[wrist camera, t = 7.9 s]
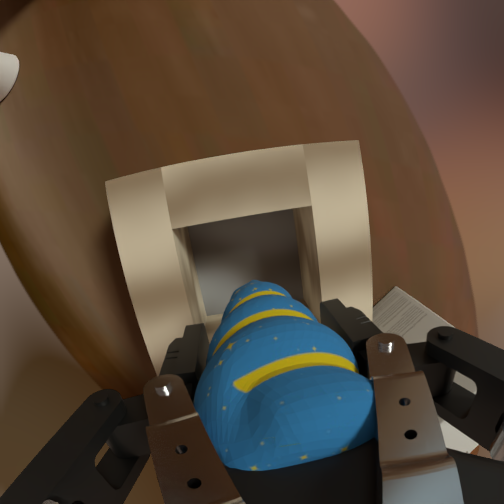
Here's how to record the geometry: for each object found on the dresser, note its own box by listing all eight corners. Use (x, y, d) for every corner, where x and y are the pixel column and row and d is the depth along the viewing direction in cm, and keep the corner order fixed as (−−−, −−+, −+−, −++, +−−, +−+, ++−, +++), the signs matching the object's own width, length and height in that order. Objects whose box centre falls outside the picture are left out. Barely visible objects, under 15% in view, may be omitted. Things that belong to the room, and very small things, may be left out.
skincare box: (423, 332, 28) (513, 411, 13) (380, 372, 28) (452, 469, 13) (394, 282, 26) (509, 360, 11) (343, 327, 27) (429, 440, 12)
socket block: (134, 182, 22) (104, 181, 16) (327, 150, 23) (358, 140, 17) (177, 355, 26) (166, 397, 20) (344, 325, 27) (371, 359, 20)
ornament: (305, 254, 17) (497, 443, 3) (284, 331, 18) (373, 557, 4) (218, 238, 17) (188, 492, 2) (203, 319, 18) (177, 573, 3)
